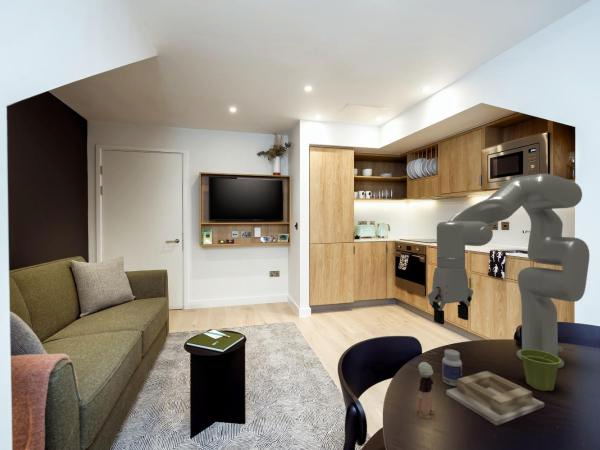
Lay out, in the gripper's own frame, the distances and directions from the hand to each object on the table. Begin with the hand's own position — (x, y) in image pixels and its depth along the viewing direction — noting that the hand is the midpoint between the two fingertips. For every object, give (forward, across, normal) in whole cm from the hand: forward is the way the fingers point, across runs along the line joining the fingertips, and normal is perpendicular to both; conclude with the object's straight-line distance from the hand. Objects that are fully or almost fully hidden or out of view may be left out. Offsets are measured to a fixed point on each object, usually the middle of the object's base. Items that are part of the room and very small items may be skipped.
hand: (451, 321), depth 88 cm
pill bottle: (+18, 0, 0) cm, 18 cm away
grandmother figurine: (+18, +19, +8) cm, 28 cm away
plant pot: (+18, -21, +12) cm, 30 cm away
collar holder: (+18, -2, +11) cm, 21 cm away
